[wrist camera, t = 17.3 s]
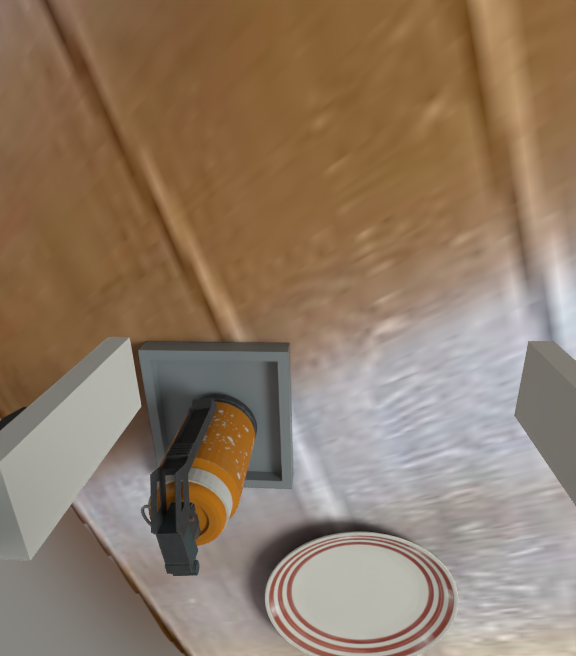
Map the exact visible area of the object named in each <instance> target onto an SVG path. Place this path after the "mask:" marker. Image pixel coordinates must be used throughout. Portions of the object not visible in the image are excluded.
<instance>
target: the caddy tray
mask: <svg viewBox="0 0 576 656" xmlns="http://www.w3.org/2000/svg"><path fill="white" fill-rule="evenodd" d="M138 353H139V359H140V365H141V371H142V377H143V383H144V389H145V395H146V401H147V407H148V413H149V419H150V425H151V431H152V437H153V443H154V449H155V455H156V461H157V467H158V468H159V466H160V464H161V462H162V460H163V458H164V456H165V454H166V453H167V451H168V449H169V447H170V445H171V443H172V441H173V439H174V437H175V436H176V434H177V432H178V430H179V428H180V426H181V424H182V422H183V420H184V419H185V417H186V415H187V413H188V411H189V409H190V408H191V406H192V400H193V399H201V398H203V397H205V396H208V395H214V394H222V395H228V396H231V397H234V398H236V399H238V400H240V401H242V402H243V403H244V404H245V405H247V406H248V407H249V409H250V410H251V411H252V413H253V414H254V416H255V419H256V422H257V434H256V438H255V442H254V446H253V450H252V454H251V458H250V462H249V466H248V470H247V474H246V478H245V481H244V485H243V487H250V488H275V489H292V484H293V445H292V409H291V373H290V343H244V342H152V341H146V342H145V343H144V344H143V345H142V346H141V347H140V349H139V350H138Z"/></svg>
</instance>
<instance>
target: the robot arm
mask: <svg viewBox="0 0 576 656" xmlns="http://www.w3.org/2000/svg"><path fill="white" fill-rule="evenodd" d="M140 408H141V401H140V395H139V389H138V383H137V378H136V372H135V366H134V360H133V354H132V349H131V343H130V337H108V338H106V339H105V340H104V341H103V342H102V343H101V344H100V345H98V346H97V347H96V348H95V349H94V350H93V351H91V352H90V353H89V354H88V355H87V356H86V357H85V358H83V359H82V360H81V361H80V362H79V363H78V364H76V365H75V366H74V367H73V368H72V369H71V370H70V371H68V372H67V373H66V374H65V375H64V376H63V377H62V378H60V379H59V380H58V381H57V382H56V383H55V384H53V385H52V386H51V387H50V388H49V389H48V390H47V391H45V392H44V393H43V394H42V395H41V396H40V397H39V398H37V399H36V400H35V401H34V402H33V403H32V404H30V405H29V406H28V407H23V408H21V409H19V410H17V411H15V412H14V413H12V414H10V415H8V416H6V417H4V418H3V419H2V420H1V421H0V559H9V560H10V559H11V560H28V561H31V559H32V558H33V556H34V555H35V554H36V552H37V551H38V550H39V548H40V547H41V545H42V544H43V542H44V541H45V540H46V538H47V537H48V536H49V534H50V533H51V531H52V530H53V529H54V527H55V526H56V525H57V523H58V522H59V520H60V519H61V518H62V516H63V515H64V513H65V512H66V511H67V509H68V508H69V506H70V505H71V504H72V502H73V501H74V499H75V498H76V497H77V495H78V494H79V493H80V491H81V490H82V488H83V487H84V486H85V484H86V483H87V481H88V480H89V479H90V477H91V476H92V474H93V473H94V472H95V470H96V469H97V468H98V466H99V465H100V463H101V462H102V461H103V459H104V458H105V456H106V455H107V454H108V452H109V451H110V449H111V448H112V447H113V445H114V444H115V442H116V441H117V440H118V438H119V437H120V436H121V434H122V433H123V431H124V430H125V429H126V427H127V426H128V424H129V423H130V422H131V420H132V419H133V417H134V416H135V415H136V413H137V412H138V410H139V409H140ZM514 416H515V417H516V418H517V420H518V421H519V423H520V424H521V426H522V427H523V429H524V430H525V432H526V433H527V435H528V436H529V438H530V439H531V441H532V442H533V443H534V445H535V446H536V448H537V449H538V451H539V452H540V454H541V455H542V457H543V458H544V460H545V461H546V463H547V464H548V466H549V467H550V469H551V470H552V471H553V473H554V474H555V476H556V477H557V479H558V480H559V482H560V483H561V485H562V486H563V488H564V489H565V491H566V492H567V494H568V495H569V496H570V498H571V499H572V501H573V502H574V504H575V505H576V361H575V360H574V359H573V358H572V357H571V356H570V355H569V354H567V353H566V352H565V351H564V350H563V349H562V348H561V347H559V346H558V345H557V344H556V343H555V342H554V341H528V346H527V352H526V357H525V362H524V368H523V373H522V378H521V383H520V389H519V394H518V399H517V404H516V410H515V415H514Z"/></svg>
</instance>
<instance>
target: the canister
mask: <svg viewBox="0 0 576 656" xmlns="http://www.w3.org/2000/svg"><path fill="white" fill-rule="evenodd" d="M256 434H257V422H256V419H255V416H254V414H253V413H252V411H251V410H250V409H249V407H248V406H247V405H245V404H244V403H243V402H242V401H240V400H238V399H236V398H234V397H231V396H228V395H222V394H214V395H208V396H205V397H203V398H201V399H193V400H192V406H191V408H190V409H189V411H188V413H187V415H186V417H185V419H184V420H183V422H182V424H181V426H180V428H179V430H178V432H177V434H176V436H175V437H174V439H173V441H172V443H171V445H170V447H169V449H168V451H167V453H166V454H165V456H164V458H163V460H162V462H161V464H160V466H159V468H158V469H157V470H155V471H154V472H153V473H152V474H151V475H150V481H151V496H150V498H149V503H148V505H144V506H143V507H142V508H141V513H142V516H143V518H144V519H145V521H146V522H147V523H148V524H149V525H150V526H151V533H154V534H156V537H157V540H158V543H159V546H160V549H161V552H162V555H163V558H164V561H165V568H166V571H167V574H168V573H170V574H173V576H190V575H198V572H199V562H198V560H195V558H196V555H197V552H198V548H197V546H198V545H203V544H206V543H209V542H211V541H213V540H214V539H216V538H217V537H218V536H219V535H220V534H221V533H222V532H223V531H224V530H225V528H226V526H227V524H228V521H229V519H230V518H231V517H232V516H233V515H234V514H235V512H236V510H237V508H238V505H239V501H240V497H241V493H242V489H243V485H244V481H245V478H246V474H247V470H248V466H249V462H250V458H251V454H252V450H253V446H254V442H255V438H256ZM144 508H148V509H149V515H150V519H151V522H150V521H149V520H148V519H147V517H146V515H145V513H144Z"/></svg>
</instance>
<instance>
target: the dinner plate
mask: <svg viewBox="0 0 576 656" xmlns="http://www.w3.org/2000/svg"><path fill="white" fill-rule="evenodd" d="M265 606H266V610H267V614H268V616H269V619H270V621H271V623H272V624H273V626H274V627H275V629H276V630H277V631H278V633H279V634H280V635H281V636H282V637H283V638H284V639H285V640H287V641H288V642H289V643H290V644H291V645H293V646H294V647H296V648H297V649H299V650H300V651H302V652H304V653H306V654H308V655H310V656H416V655H418V654H420V653H422V652H424V651H425V650H427V649H429V648H430V647H432V646H433V645H434V644H436V643H437V642H438V641H439V640H440V639H441V638H442V637H443V636H444V635H445V634H446V633H447V631H448V630H449V629H450V627H451V625H452V623H453V622H454V619H455V617H456V614H457V610H458V590H457V586H456V584H455V581H454V579H453V576H452V575H451V573H450V572H449V570H448V569H447V568H446V567H445V565H444V564H443V563H442V562H441V561H440V560H439V559H438V558H437V557H435V556H434V555H433V554H431V553H430V552H429V551H427V550H426V549H424V548H422V547H421V546H419V545H417V544H415V543H412V542H410V541H407V540H405V539H402V538H399V537H395V536H391V535H387V534H381V533H373V532H343V533H337V534H331V535H327V536H323V537H320V538H317V539H314V540H312V541H309V542H307V543H305V544H303V545H301V546H299V547H298V548H296V549H295V550H293V551H292V552H290V553H289V554H288V555H286V556H285V557H284V558H283V559H282V560H281V561H280V562H279V563H278V564H277V566H276V567H275V568H274V570H273V571H272V573H271V574H270V576H269V578H268V581H267V584H266V588H265Z"/></svg>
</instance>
